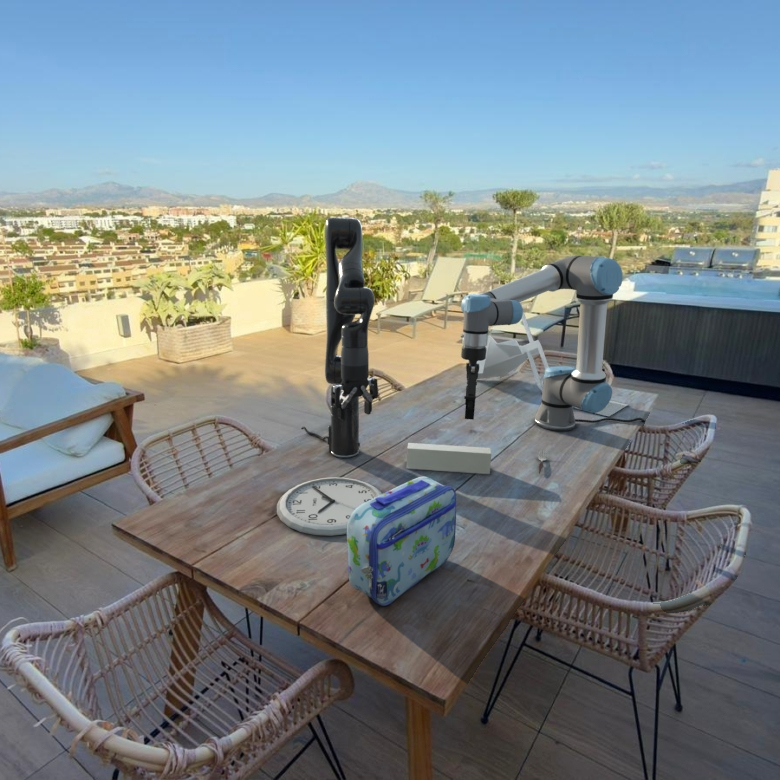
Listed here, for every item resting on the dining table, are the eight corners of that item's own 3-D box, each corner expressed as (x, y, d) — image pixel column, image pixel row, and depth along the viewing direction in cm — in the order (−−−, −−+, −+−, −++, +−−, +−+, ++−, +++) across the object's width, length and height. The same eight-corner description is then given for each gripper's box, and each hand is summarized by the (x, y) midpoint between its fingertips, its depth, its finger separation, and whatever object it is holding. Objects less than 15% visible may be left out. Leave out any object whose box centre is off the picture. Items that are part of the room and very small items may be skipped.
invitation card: (608, 416, 214) (573, 407, 224) (608, 416, 214) (573, 408, 224) (628, 404, 229) (594, 396, 238) (628, 405, 229) (594, 397, 238)
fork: (534, 474, 163) (535, 468, 162) (539, 454, 177) (539, 449, 176) (543, 475, 162) (544, 469, 161) (547, 455, 176) (547, 450, 175)
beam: (488, 468, 167) (490, 447, 165) (489, 474, 162) (491, 453, 160) (407, 462, 170) (408, 442, 167) (406, 468, 165) (407, 448, 163)
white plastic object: (488, 421, 262) (468, 398, 237) (469, 348, 284) (449, 320, 260) (560, 397, 250) (547, 371, 225) (534, 322, 272) (520, 291, 247)
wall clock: (392, 527, 129) (268, 531, 127) (391, 533, 130) (269, 537, 127) (383, 473, 158) (282, 475, 155) (383, 478, 158) (282, 480, 156)
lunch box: (376, 619, 101) (377, 524, 95) (340, 592, 109) (339, 502, 102) (459, 562, 119) (465, 479, 113) (424, 542, 126) (427, 463, 120)
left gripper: (368, 354, 149) (367, 408, 155) (325, 362, 141) (326, 418, 146) (383, 360, 144) (383, 415, 149) (340, 368, 135) (341, 426, 141)
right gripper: (462, 337, 172) (458, 398, 178) (461, 354, 148) (456, 424, 154) (485, 338, 171) (480, 400, 177) (488, 355, 147) (482, 426, 153)
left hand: (355, 416), depth 148 cm, fingers open, 8 cm apart
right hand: (469, 411), depth 166 cm, fingers open, 13 cm apart
